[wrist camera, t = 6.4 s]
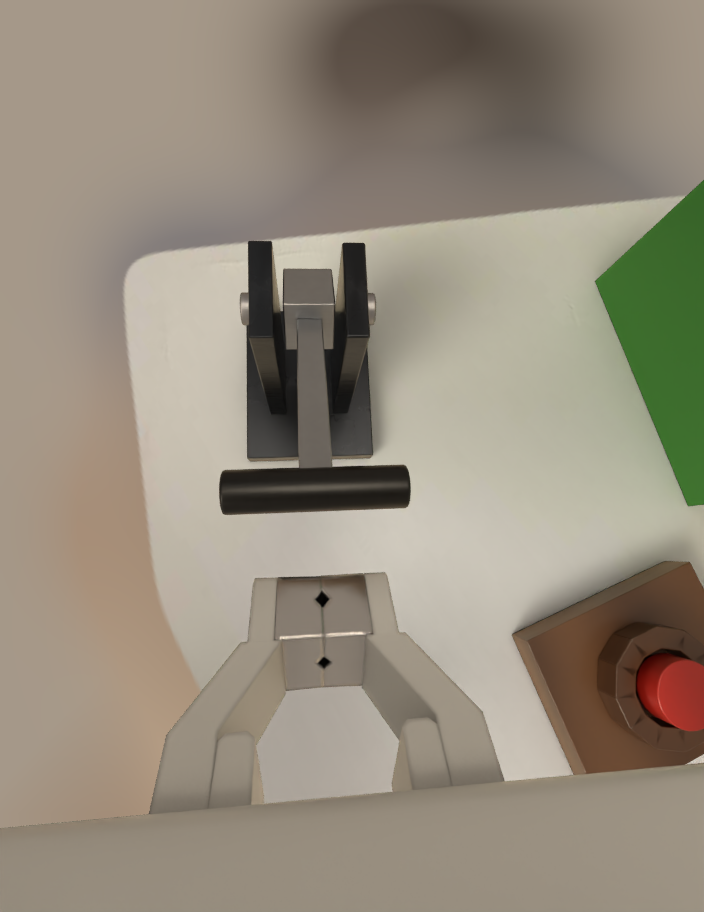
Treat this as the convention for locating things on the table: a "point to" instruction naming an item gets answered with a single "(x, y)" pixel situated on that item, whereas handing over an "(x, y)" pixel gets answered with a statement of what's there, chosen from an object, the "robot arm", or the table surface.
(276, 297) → the bracket
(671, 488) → the table surface
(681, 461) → the hardback book
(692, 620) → the button block
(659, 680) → the button
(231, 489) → the lever
